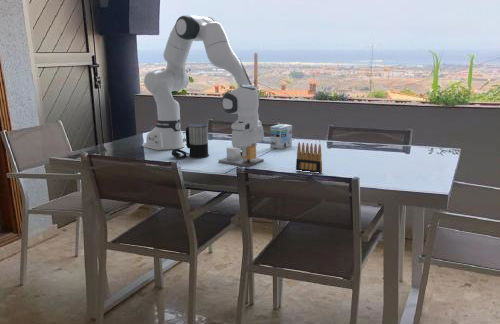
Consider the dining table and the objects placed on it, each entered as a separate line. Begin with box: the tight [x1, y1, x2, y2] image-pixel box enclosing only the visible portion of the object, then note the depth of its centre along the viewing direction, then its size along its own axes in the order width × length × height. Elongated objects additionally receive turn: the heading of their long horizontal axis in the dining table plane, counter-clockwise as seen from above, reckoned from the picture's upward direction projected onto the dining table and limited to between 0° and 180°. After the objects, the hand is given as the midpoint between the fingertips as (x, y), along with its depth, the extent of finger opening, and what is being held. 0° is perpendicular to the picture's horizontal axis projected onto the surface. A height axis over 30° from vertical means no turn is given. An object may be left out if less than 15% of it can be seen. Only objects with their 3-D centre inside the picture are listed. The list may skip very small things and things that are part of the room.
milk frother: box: [171, 123, 210, 159], centre depth 217 cm, size 14×16×15 cm
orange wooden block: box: [242, 145, 257, 160], centre depth 204 cm, size 4×4×5 cm
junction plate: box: [218, 145, 265, 168], centre depth 207 cm, size 16×12×6 cm
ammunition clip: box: [295, 141, 323, 174], centre depth 189 cm, size 11×2×12 cm, turn 61°
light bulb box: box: [269, 123, 293, 150], centre depth 238 cm, size 11×7×11 cm, turn 143°
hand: (248, 154), depth 205 cm, fingers closed on orange wooden block, 4 cm apart
